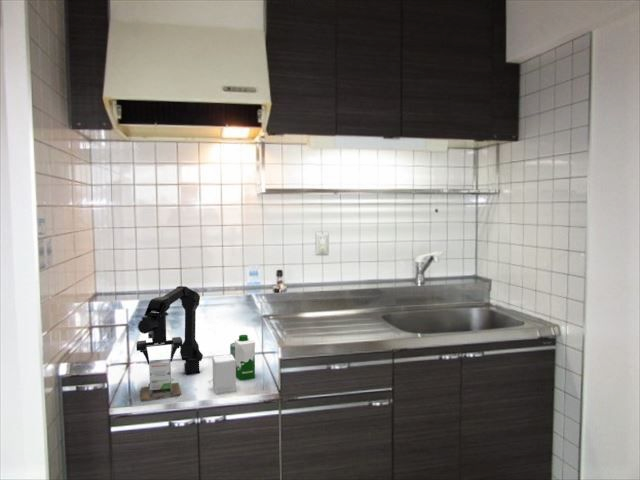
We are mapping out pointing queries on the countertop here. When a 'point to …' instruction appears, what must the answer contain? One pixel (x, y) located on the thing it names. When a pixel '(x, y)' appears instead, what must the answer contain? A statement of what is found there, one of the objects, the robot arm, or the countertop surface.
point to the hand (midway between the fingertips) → (160, 363)
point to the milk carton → (245, 358)
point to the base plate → (160, 392)
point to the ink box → (160, 374)
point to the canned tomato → (232, 349)
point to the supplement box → (224, 374)
